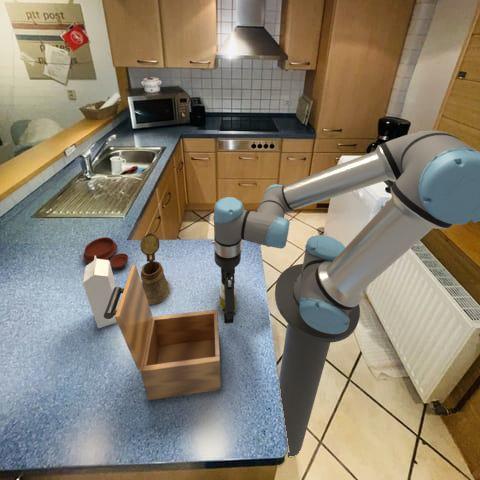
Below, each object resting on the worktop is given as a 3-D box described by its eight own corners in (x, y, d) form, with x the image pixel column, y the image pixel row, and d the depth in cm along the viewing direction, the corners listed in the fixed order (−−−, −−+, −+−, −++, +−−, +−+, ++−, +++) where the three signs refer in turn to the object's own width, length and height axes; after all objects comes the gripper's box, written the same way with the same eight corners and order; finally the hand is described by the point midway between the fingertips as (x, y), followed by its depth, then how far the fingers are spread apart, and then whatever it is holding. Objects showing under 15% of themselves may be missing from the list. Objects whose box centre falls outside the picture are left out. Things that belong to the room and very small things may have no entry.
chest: (218, 337, 71) (217, 309, 66) (220, 389, 60) (220, 360, 55) (156, 344, 69) (151, 316, 64) (147, 400, 58) (140, 371, 53)
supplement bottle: (238, 300, 82) (238, 279, 78) (234, 316, 77) (234, 294, 73) (222, 297, 83) (221, 276, 79) (217, 312, 78) (216, 290, 74)
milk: (120, 304, 80) (107, 251, 71) (120, 321, 75) (106, 267, 66) (99, 310, 78) (83, 257, 69) (97, 329, 72) (79, 274, 64)
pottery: (105, 240, 105) (103, 232, 104) (139, 258, 97) (137, 250, 95) (77, 259, 96) (75, 250, 94) (112, 281, 87) (109, 272, 86)
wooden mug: (168, 268, 93) (163, 229, 86) (170, 300, 81) (164, 259, 74) (142, 273, 90) (135, 234, 83) (141, 308, 79) (132, 265, 71)
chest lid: (135, 264, 56) (113, 267, 56) (119, 316, 46) (91, 320, 45) (152, 315, 64) (133, 318, 64) (141, 369, 53) (118, 374, 53)
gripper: (213, 221, 81) (213, 269, 89) (216, 289, 58) (216, 344, 67) (236, 220, 82) (234, 267, 90) (247, 286, 59) (244, 341, 68)
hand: (226, 300), depth 79 cm, fingers open, 13 cm apart
